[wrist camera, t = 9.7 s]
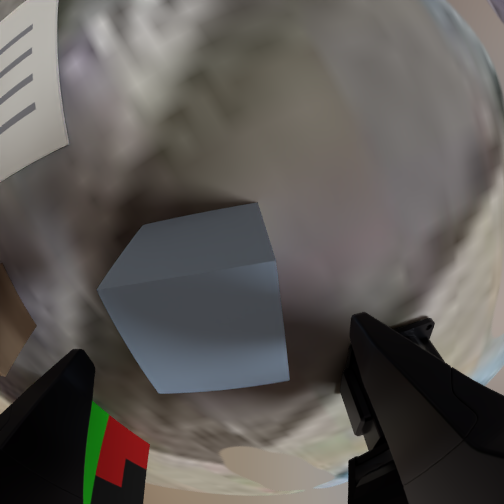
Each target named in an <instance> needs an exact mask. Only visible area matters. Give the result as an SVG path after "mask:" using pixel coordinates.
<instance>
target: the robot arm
mask: <svg viewBox="0 0 504 504" xmlns="http://www.w3.org/2000/svg"><path fill="white" fill-rule="evenodd" d="M434 324H435V323H434V321H433V320H432V319H431V318H427V319H425V320H422V321H419V322H416V323H413V324H411V325H408V326H405V327H402V328H399V329H396V330H393V329H391V328H390V327H388V326H387V325H385V324H383V323H382V322H380V321H379V320H377V319H375V318H374V317H372V316H371V315H369V314H367V313H365V312H362V313H358V314H354V315H353V316H352V317H351V325H350V341H351V345H350V347H349V352H348V359H347V366H346V369H345V370H344V371H343V374H342V380H341V387H340V393H341V396H342V399H343V402H344V404H345V407H346V410H347V413H348V416H349V419H350V422H351V425H352V428H353V431H354V434H355V435H357V436H361V435H364V438H365V441H366V444H367V447H368V450H369V451H368V452H366V453H364V454H362V455H361V456H356V457H354V458H352V459H350V460H349V462H348V504H504V396H503V395H502V394H499V393H497V392H495V391H493V390H491V389H489V388H487V387H485V386H483V385H482V384H480V383H478V382H476V381H474V380H472V379H471V378H469V377H467V376H466V375H464V374H462V373H461V372H459V371H458V370H456V369H455V368H453V367H452V368H451V366H450V365H448V364H447V363H445V362H444V360H443V359H442V357H441V356H440V354H439V353H438V351H437V350H436V348H435V347H434V345H433V344H432V343H431V341H430V340H429V339H430V336H431V333H432V330H433V328H434ZM94 377H95V366H94V364H93V362H92V361H91V360H90V358H89V357H88V355H87V354H86V353H85V351H84V350H82V349H73V350H71V351H70V352H69V353H68V354H67V355H66V356H64V357H63V358H62V359H61V360H60V361H59V362H57V363H56V364H55V365H54V366H53V367H52V368H51V369H50V370H48V371H47V372H46V373H45V374H44V375H43V376H42V377H41V378H39V379H38V380H37V381H36V382H35V383H34V384H33V385H32V386H31V387H29V388H28V389H27V390H26V391H25V392H24V393H23V394H22V395H21V396H20V397H19V398H18V399H16V400H15V401H14V402H13V404H11V405H10V406H9V407H8V408H7V409H6V410H5V411H4V412H3V413H1V414H0V504H83V488H84V468H85V455H86V445H87V436H88V429H89V421H90V415H91V408H92V398H93V387H94Z"/></svg>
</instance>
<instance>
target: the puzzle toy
mask: <svg viewBox="0 0 504 504" xmlns="http://www.w3.org/2000/svg"><path fill="white" fill-rule="evenodd" d="M149 447H150V444H148V443H147V442H145V441H144V440H142V439H141V438H139V437H138V436H137V435H135V434H134V433H132V432H131V431H130V430H128V429H127V428H125V427H124V426H123V425H121V424H120V423H119V422H117V421H116V420H115V419H114V418H112V417H111V416H110V415H109V414H107V413H106V412H105V411H104V410H103V409H101V408H100V407H99V406H98V405H97V404H95V403H94V402H93V401H92V408H91V415H90V421H89V429H88V436H87V445H86V455H85V468H84V488H83V504H143V499H144V488H145V479H146V470H147V462H148V454H149Z"/></svg>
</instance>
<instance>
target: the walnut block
mask: <svg viewBox="0 0 504 504" xmlns="http://www.w3.org/2000/svg"><path fill="white" fill-rule="evenodd" d="M35 328H36V324H35V322H34V321H33V319H32V318H31V316H30V314H29V313H28V311H27V309H26V308H25V306H24V304H23V303H22V301H21V299H20V297H19V295H18V294H17V292H16V290H15V288H14V286H13V284H12V282H11V280H10V278H9V276H8V274H7V272H6V270H5V268H4V266H3V264H2V263H0V376H4V377H6V375H7V373H8V372H9V370H10V368H11V366H12V365H13V363H14V361H15V359H16V358H17V356H18V354H19V353H20V351H21V349H22V348H23V346H24V345H25V343H26V341H27V340H28V338H29V337H30V335H31V334H32V332H33V331H34V329H35Z"/></svg>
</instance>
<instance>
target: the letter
mask: <svg viewBox="0 0 504 504" xmlns="http://www.w3.org/2000/svg"><path fill="white" fill-rule="evenodd" d="M57 15H58V0H26V1H25V2H24V3H23V4H21V5H20V6H19V7H17V8H16V9H15V10H14V11H13V12H11V13H10V14H9V15H8V16H7V17H5V18H4V19H3V20H2V21H1V22H0V182H2V181H3V180H5V179H6V178H8V177H10V176H11V175H13V174H14V173H16V172H18V171H19V170H21V169H23V168H25V167H26V166H28V165H30V164H32V163H33V162H35V161H37V160H39V159H41V158H42V157H44V156H46V155H48V154H50V153H52V152H54V151H56V150H58V149H60V148H62V147H64V146H66V145H69V139H68V134H67V129H66V124H65V118H64V112H63V105H62V98H61V90H60V80H59V69H58V52H57Z"/></svg>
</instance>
